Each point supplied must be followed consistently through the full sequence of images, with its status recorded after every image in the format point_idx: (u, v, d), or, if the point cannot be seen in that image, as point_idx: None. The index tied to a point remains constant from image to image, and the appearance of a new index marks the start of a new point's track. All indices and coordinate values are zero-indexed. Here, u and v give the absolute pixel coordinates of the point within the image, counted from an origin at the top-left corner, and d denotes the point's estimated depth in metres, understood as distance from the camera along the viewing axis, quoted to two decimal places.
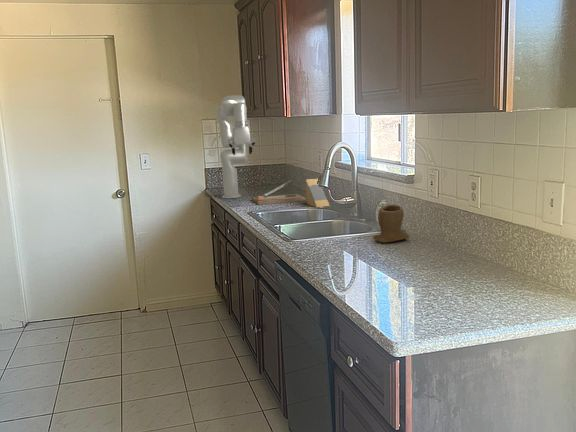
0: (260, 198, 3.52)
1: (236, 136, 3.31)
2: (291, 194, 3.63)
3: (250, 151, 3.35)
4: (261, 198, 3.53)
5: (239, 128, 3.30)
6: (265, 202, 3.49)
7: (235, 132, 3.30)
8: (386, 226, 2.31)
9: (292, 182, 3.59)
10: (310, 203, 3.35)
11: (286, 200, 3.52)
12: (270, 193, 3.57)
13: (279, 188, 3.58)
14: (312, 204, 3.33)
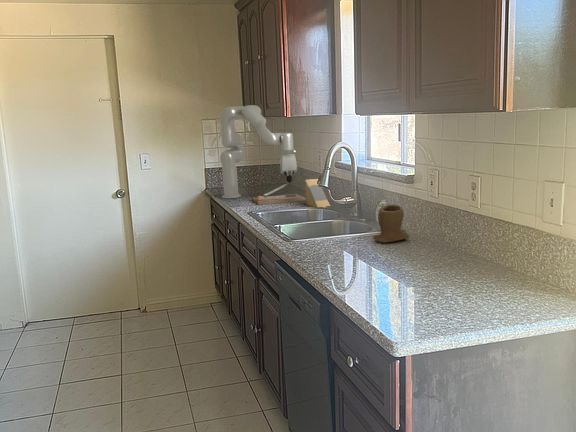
0: (260, 198, 3.52)
1: (284, 163, 3.56)
2: (291, 194, 3.63)
3: (290, 180, 3.59)
4: (261, 198, 3.53)
5: (287, 156, 3.55)
6: (265, 202, 3.49)
7: (283, 160, 3.55)
8: (386, 226, 2.31)
9: (292, 183, 3.59)
10: (310, 203, 3.34)
11: (286, 200, 3.52)
12: (270, 193, 3.57)
13: (278, 189, 3.59)
14: (312, 204, 3.31)
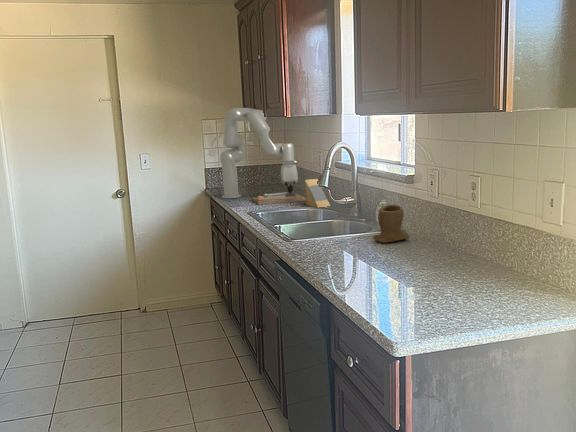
0: (260, 198, 3.52)
1: (285, 174, 3.57)
2: None
3: (291, 190, 3.60)
4: (261, 198, 3.53)
5: (287, 167, 3.56)
6: (265, 202, 3.49)
7: (284, 170, 3.56)
8: (386, 226, 2.31)
9: None
10: (310, 204, 3.33)
11: (286, 200, 3.52)
12: (270, 195, 3.58)
13: (280, 194, 3.59)
14: (312, 205, 3.31)
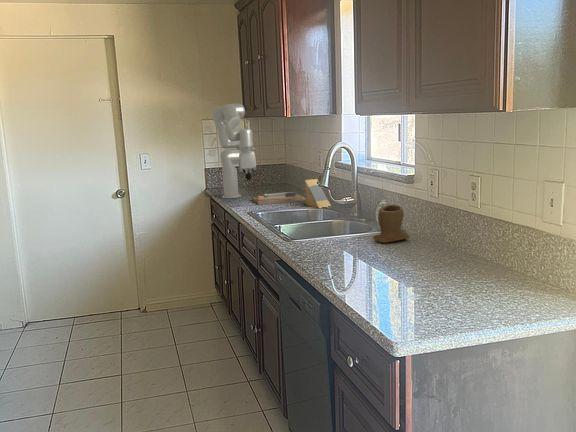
0: (260, 198, 3.52)
1: (242, 160, 3.45)
2: None
3: (249, 177, 3.48)
4: (261, 198, 3.53)
5: (245, 153, 3.44)
6: (265, 202, 3.49)
7: (241, 157, 3.44)
8: (386, 226, 2.31)
9: None
10: (310, 204, 3.32)
11: (286, 200, 3.52)
12: (270, 195, 3.58)
13: (280, 194, 3.59)
14: (313, 205, 3.30)
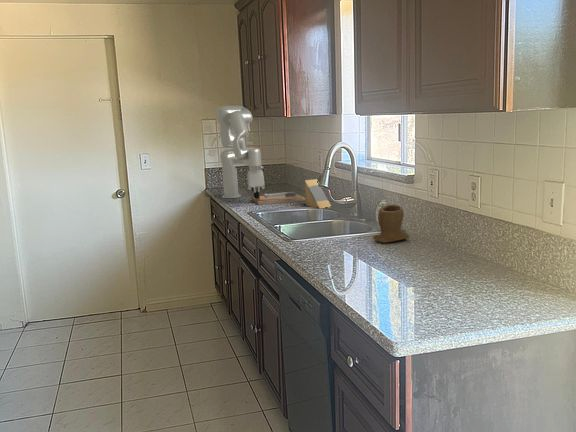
0: (261, 198, 3.53)
1: (251, 179, 3.48)
2: None
3: (257, 196, 3.51)
4: (262, 198, 3.53)
5: (254, 172, 3.47)
6: (265, 202, 3.49)
7: (250, 176, 3.48)
8: (386, 226, 2.31)
9: None
10: (311, 204, 3.31)
11: (286, 200, 3.52)
12: (270, 195, 3.58)
13: (280, 194, 3.59)
14: (313, 205, 3.29)
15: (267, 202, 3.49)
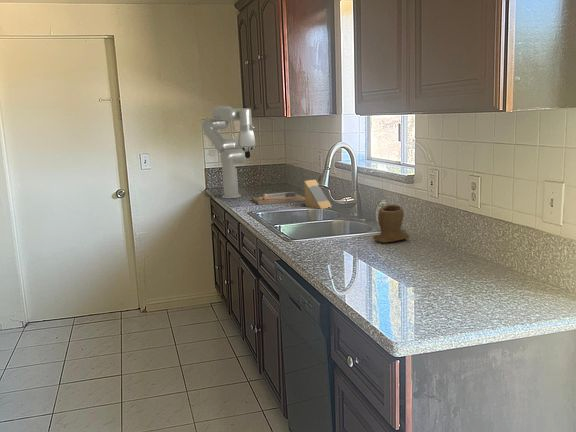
0: (266, 198, 3.53)
1: (242, 139, 3.55)
2: None
3: (248, 155, 3.58)
4: (267, 198, 3.54)
5: (245, 132, 3.54)
6: (265, 202, 3.49)
7: (241, 135, 3.54)
8: (386, 226, 2.31)
9: None
10: (311, 205, 3.30)
11: (286, 200, 3.52)
12: (270, 195, 3.58)
13: (280, 194, 3.59)
14: (314, 205, 3.27)
15: (267, 202, 3.49)
